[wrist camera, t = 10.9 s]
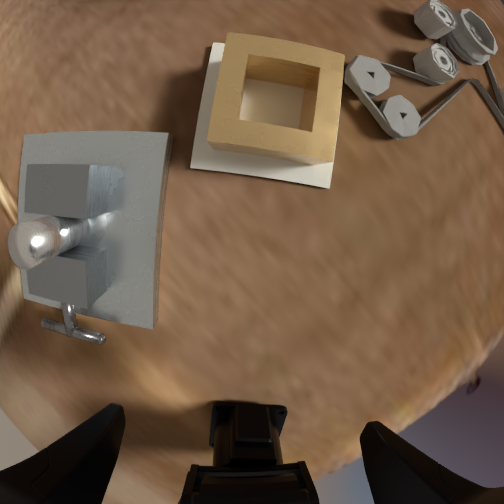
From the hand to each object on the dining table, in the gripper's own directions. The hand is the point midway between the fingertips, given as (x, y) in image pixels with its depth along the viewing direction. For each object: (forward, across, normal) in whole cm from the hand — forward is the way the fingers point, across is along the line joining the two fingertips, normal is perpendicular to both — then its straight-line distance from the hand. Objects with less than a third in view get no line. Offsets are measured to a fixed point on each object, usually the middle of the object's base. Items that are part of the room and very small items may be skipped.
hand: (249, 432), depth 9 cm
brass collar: (+12, 0, -13) cm, 17 cm away
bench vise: (+12, +12, -4) cm, 17 cm away
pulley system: (+13, -18, -22) cm, 31 cm away
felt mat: (+12, 0, -13) cm, 18 cm away
